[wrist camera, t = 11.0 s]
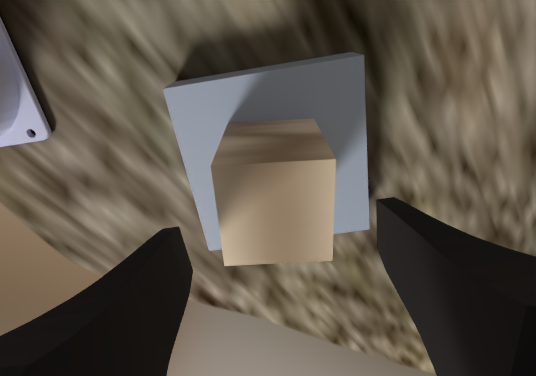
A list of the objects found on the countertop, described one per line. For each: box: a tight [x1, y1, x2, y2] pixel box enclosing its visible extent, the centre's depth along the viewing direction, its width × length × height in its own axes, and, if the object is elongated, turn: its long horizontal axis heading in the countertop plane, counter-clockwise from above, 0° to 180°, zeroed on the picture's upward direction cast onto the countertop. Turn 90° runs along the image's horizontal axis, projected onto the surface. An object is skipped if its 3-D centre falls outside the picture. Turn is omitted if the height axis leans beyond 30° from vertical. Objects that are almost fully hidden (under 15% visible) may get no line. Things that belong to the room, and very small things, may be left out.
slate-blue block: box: [163, 52, 369, 251], centre depth 20 cm, size 10×10×3 cm
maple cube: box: [211, 118, 336, 266], centre depth 16 cm, size 4×4×6 cm
